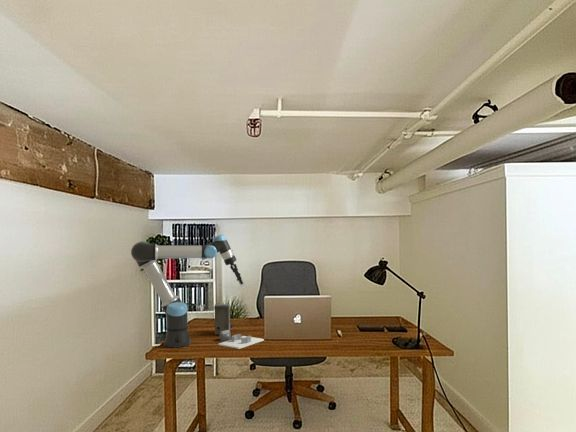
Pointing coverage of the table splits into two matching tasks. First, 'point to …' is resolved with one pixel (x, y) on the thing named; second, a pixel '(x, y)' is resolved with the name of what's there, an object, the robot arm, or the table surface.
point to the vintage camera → (222, 318)
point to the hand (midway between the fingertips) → (243, 286)
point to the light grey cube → (225, 335)
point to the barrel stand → (240, 341)
